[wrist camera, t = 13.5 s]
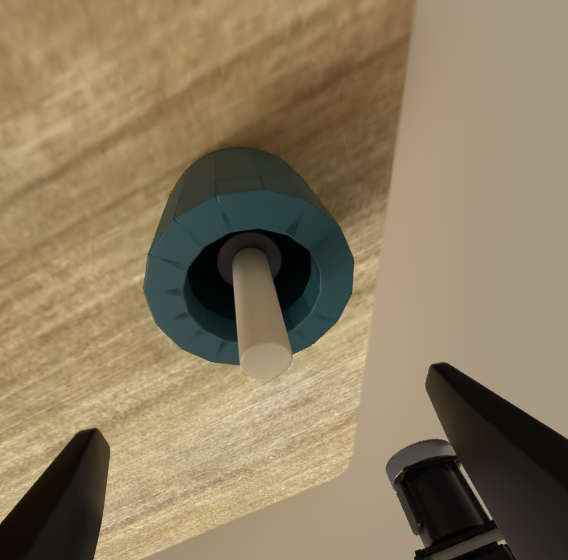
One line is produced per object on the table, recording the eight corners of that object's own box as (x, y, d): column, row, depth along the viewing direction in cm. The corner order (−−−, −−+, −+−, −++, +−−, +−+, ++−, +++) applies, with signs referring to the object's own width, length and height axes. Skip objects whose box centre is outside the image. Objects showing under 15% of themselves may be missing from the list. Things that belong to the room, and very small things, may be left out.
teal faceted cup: (310, 139, 17) (359, 177, 11) (313, 271, 21) (349, 348, 15) (149, 156, 16) (110, 207, 10) (187, 290, 20) (175, 379, 15)
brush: (268, 197, 17) (314, 315, 9) (272, 247, 19) (316, 385, 11) (211, 204, 17) (206, 333, 9) (221, 254, 19) (224, 403, 10)
